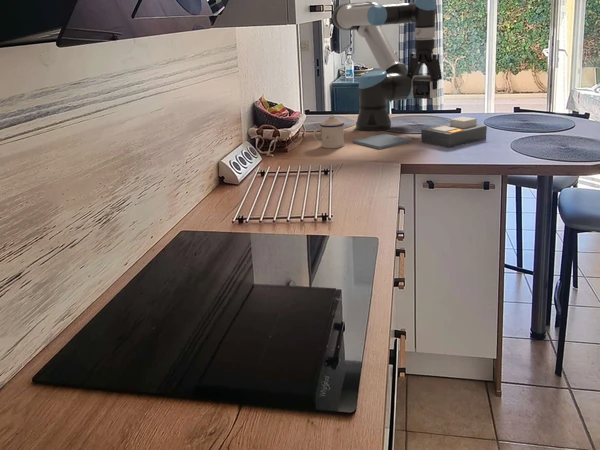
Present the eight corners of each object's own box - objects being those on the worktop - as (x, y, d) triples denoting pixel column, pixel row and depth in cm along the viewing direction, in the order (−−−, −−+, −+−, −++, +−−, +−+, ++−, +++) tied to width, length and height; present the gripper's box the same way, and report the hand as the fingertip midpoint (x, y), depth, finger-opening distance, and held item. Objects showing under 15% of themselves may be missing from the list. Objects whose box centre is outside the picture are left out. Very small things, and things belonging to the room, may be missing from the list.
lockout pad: (352, 142, 226) (352, 140, 225) (384, 136, 234) (383, 133, 233) (379, 149, 213) (379, 146, 213) (411, 141, 221) (411, 139, 221)
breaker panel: (421, 142, 220) (421, 128, 218) (457, 133, 230) (458, 120, 228) (448, 148, 208) (449, 133, 207) (486, 138, 218) (486, 124, 217)
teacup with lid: (341, 142, 227) (340, 112, 223) (347, 147, 219) (346, 116, 215) (311, 145, 226) (310, 115, 221) (316, 150, 217) (315, 119, 213)
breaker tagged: (431, 136, 217) (431, 128, 216) (444, 133, 220) (444, 125, 219) (444, 138, 211) (445, 131, 210) (457, 135, 215) (458, 128, 214)
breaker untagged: (450, 126, 221) (450, 119, 220) (462, 123, 224) (462, 116, 223) (463, 128, 215) (464, 121, 214) (476, 125, 219) (476, 118, 218)
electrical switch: (437, 97, 234) (436, 74, 230) (432, 100, 231) (431, 77, 227) (415, 96, 239) (414, 74, 235) (410, 100, 236) (409, 77, 232)
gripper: (398, 39, 234) (397, 94, 242) (439, 40, 216) (437, 100, 224) (411, 37, 237) (411, 92, 245) (453, 38, 220) (450, 97, 228)
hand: (423, 96), depth 235 cm, fingers closed on electrical switch, 10 cm apart
